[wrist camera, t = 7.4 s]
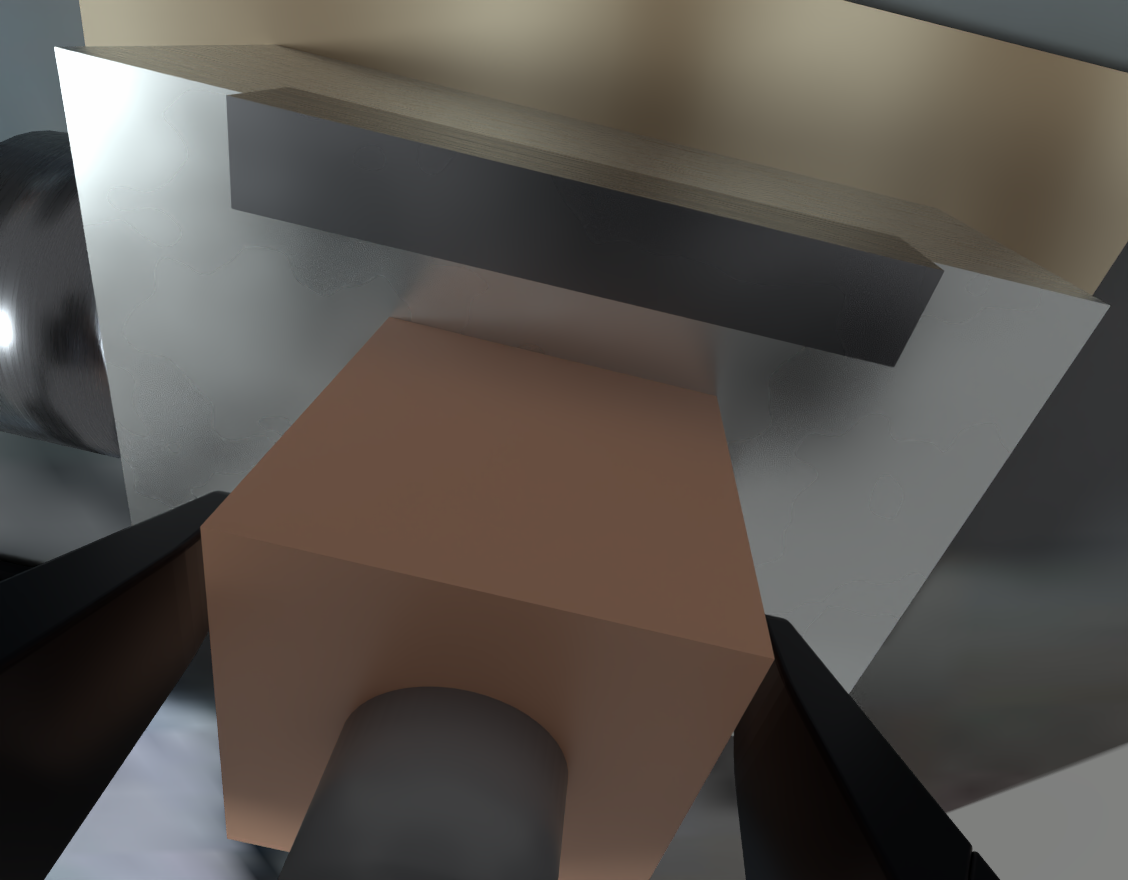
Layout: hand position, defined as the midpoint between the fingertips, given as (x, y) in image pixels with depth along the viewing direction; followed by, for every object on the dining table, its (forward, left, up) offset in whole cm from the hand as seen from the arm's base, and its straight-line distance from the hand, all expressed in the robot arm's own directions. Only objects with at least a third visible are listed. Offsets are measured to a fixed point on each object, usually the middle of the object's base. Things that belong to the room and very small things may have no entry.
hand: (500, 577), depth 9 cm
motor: (-2, 0, -8) cm, 8 cm away
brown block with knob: (0, 0, -2) cm, 2 cm away
